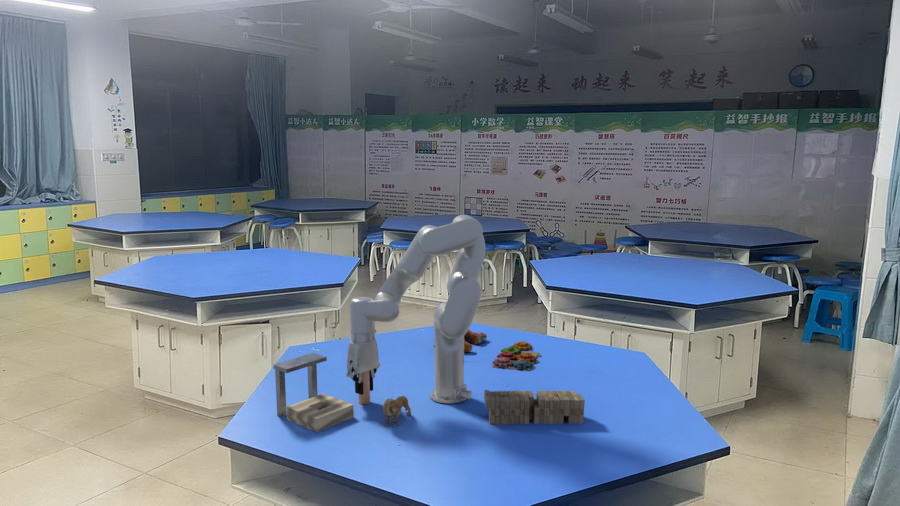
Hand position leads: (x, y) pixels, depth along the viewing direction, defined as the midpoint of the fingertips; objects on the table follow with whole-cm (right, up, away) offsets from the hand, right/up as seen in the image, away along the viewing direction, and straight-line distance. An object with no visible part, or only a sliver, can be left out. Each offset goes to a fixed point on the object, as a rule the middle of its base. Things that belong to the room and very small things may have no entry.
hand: (364, 391), depth 207 cm
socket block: (-12, -6, -12) cm, 17 cm away
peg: (0, -4, +1) cm, 4 cm away
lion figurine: (+12, -6, -14) cm, 20 cm away
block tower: (+52, -6, -12) cm, 54 cm away
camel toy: (+32, +5, +60) cm, 68 cm away
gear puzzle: (+55, +3, +46) cm, 72 cm away
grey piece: (-18, -5, -6) cm, 20 cm away
